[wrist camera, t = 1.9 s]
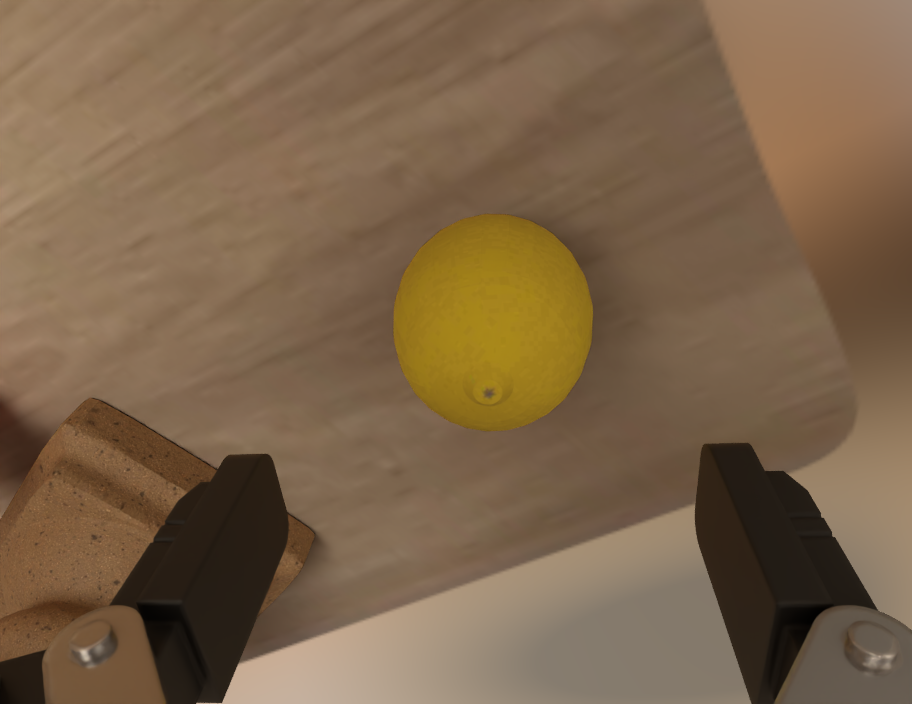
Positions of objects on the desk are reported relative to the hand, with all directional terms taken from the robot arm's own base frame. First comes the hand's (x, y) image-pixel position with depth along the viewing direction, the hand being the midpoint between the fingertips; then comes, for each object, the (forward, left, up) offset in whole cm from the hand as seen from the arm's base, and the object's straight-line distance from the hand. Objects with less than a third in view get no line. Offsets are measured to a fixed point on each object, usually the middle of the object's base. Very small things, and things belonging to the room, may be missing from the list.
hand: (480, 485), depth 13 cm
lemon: (0, 0, -11) cm, 11 cm away
